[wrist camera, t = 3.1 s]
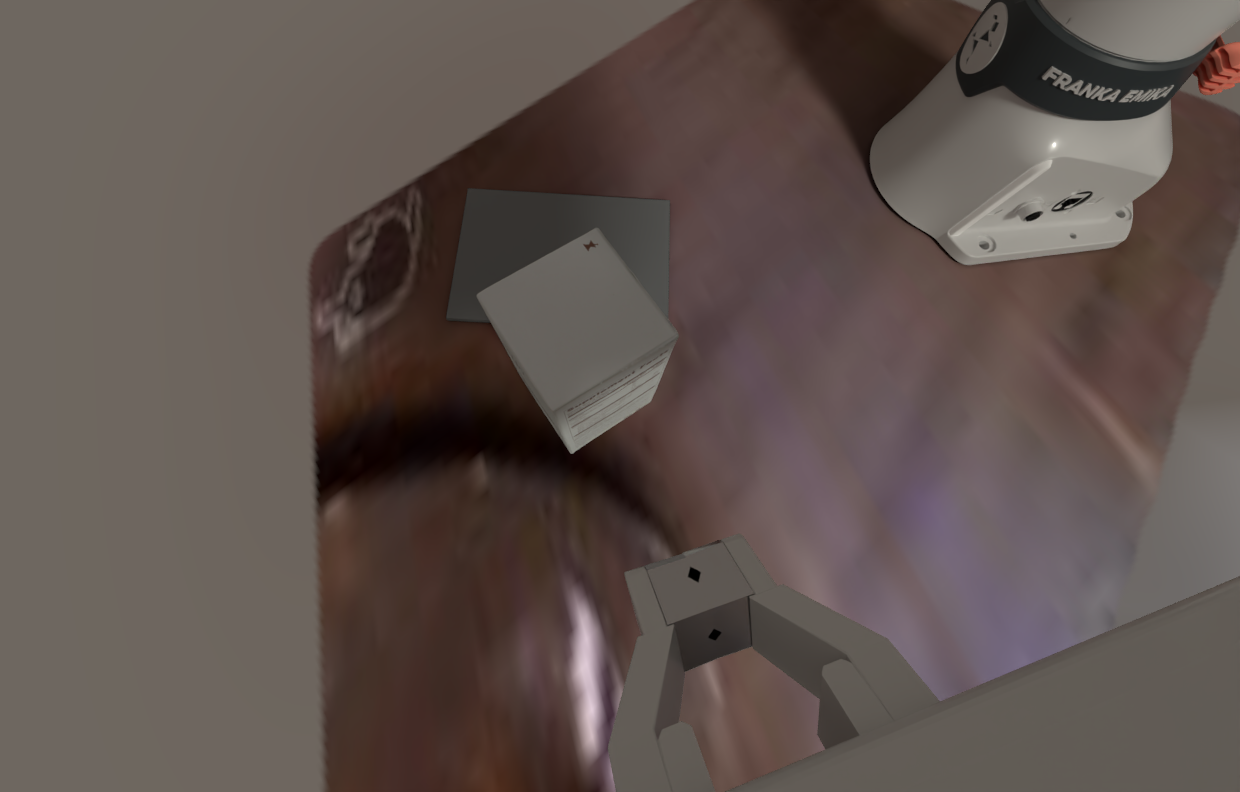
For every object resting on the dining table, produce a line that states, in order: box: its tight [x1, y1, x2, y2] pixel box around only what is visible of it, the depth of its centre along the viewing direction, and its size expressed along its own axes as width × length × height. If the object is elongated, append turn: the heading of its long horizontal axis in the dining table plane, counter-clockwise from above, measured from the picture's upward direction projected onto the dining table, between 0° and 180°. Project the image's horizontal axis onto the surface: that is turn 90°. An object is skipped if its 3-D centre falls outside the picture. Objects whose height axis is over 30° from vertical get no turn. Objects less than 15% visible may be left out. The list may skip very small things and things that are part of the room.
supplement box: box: [477, 228, 679, 453], centre depth 27 cm, size 7×7×13 cm
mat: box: [446, 188, 670, 323], centre depth 36 cm, size 17×12×1 cm
